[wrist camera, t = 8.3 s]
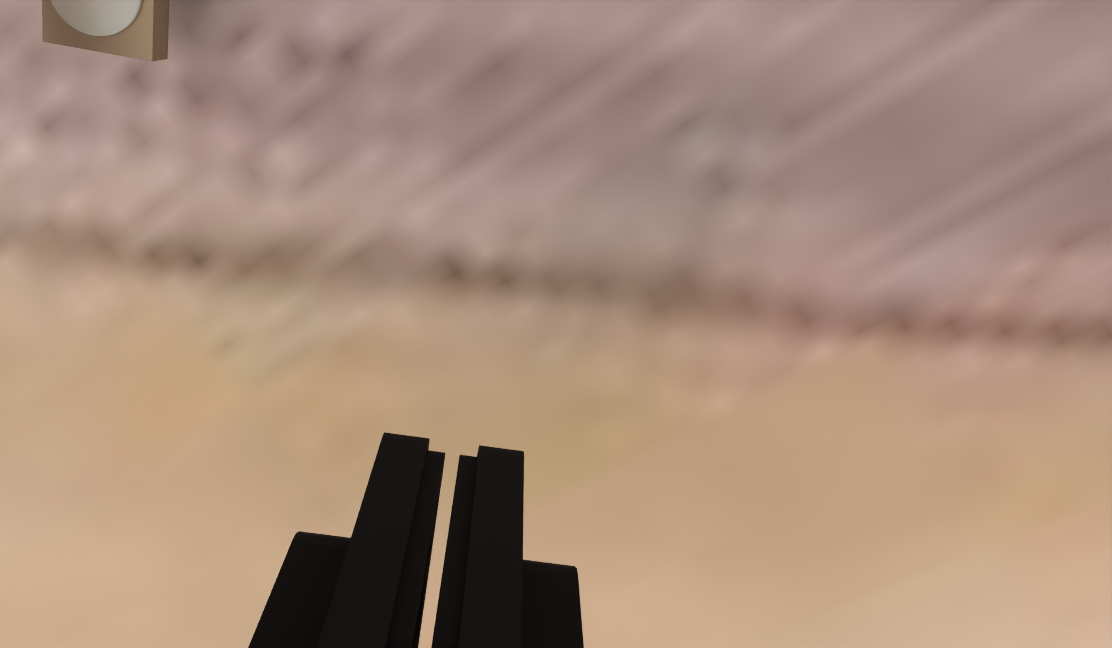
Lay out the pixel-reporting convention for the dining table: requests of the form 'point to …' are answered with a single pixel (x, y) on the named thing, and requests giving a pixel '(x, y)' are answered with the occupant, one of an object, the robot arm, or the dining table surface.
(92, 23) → the seesaw
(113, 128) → the dining table surface
